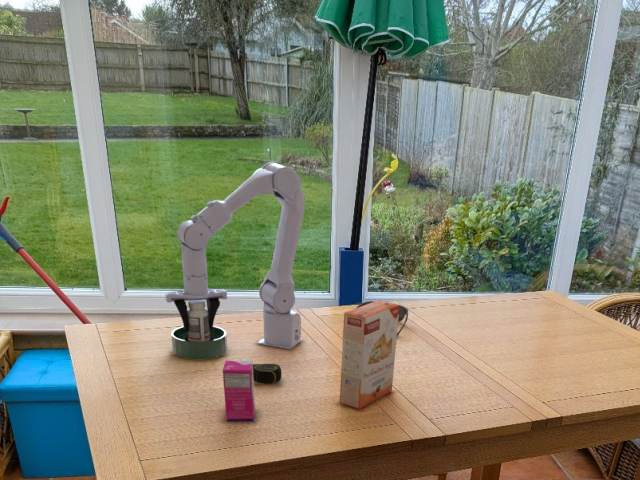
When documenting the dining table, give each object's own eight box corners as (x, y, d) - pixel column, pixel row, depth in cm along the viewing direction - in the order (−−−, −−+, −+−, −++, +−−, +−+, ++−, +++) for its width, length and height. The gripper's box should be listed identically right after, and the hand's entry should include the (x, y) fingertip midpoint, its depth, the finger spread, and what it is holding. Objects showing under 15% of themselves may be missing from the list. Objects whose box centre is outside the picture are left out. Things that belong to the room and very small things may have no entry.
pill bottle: (203, 335, 186) (201, 297, 181) (213, 341, 183) (211, 302, 178) (184, 338, 183) (181, 300, 178) (194, 344, 180) (191, 305, 175)
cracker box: (361, 411, 159) (366, 317, 149) (338, 403, 162) (341, 311, 151) (394, 392, 170) (400, 303, 159) (372, 385, 172) (377, 298, 162)
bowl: (236, 348, 189) (235, 329, 186) (210, 364, 177) (209, 345, 175) (190, 340, 192) (189, 321, 189) (162, 356, 180) (160, 336, 178)
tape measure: (280, 376, 174) (280, 361, 172) (282, 387, 168) (282, 372, 166) (251, 376, 172) (251, 361, 171) (252, 387, 167) (251, 372, 165)
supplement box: (227, 410, 155) (225, 359, 150) (255, 410, 156) (254, 360, 150) (224, 421, 150) (222, 369, 145) (253, 422, 151) (252, 370, 145)
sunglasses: (411, 321, 218) (412, 305, 215) (399, 344, 204) (400, 328, 201) (358, 314, 220) (358, 299, 218) (343, 337, 207) (343, 320, 204)
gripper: (221, 268, 181) (223, 321, 187) (161, 271, 175) (166, 325, 182) (228, 275, 175) (230, 330, 182) (166, 278, 170) (171, 334, 176)
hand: (198, 328), depth 182 cm, fingers closed on pill bottle, 5 cm apart
